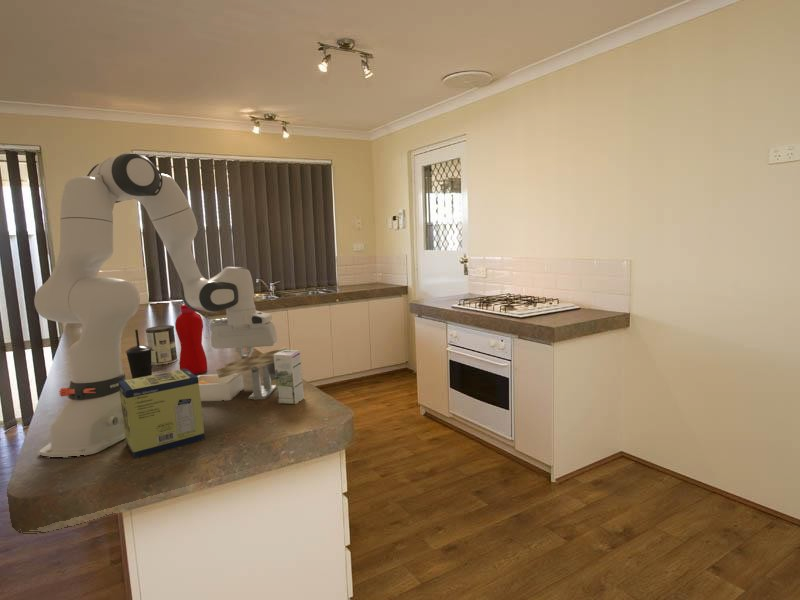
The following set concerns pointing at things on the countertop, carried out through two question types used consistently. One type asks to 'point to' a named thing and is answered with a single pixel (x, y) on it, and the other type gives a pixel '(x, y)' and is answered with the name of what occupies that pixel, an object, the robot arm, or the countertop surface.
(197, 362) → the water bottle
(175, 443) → the protein box
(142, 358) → the drinking cup
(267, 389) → the pivot stand
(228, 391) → the white open tray
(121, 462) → the countertop surface
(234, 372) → the lever
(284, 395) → the syrup box
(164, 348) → the coffee can
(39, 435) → the countertop surface
